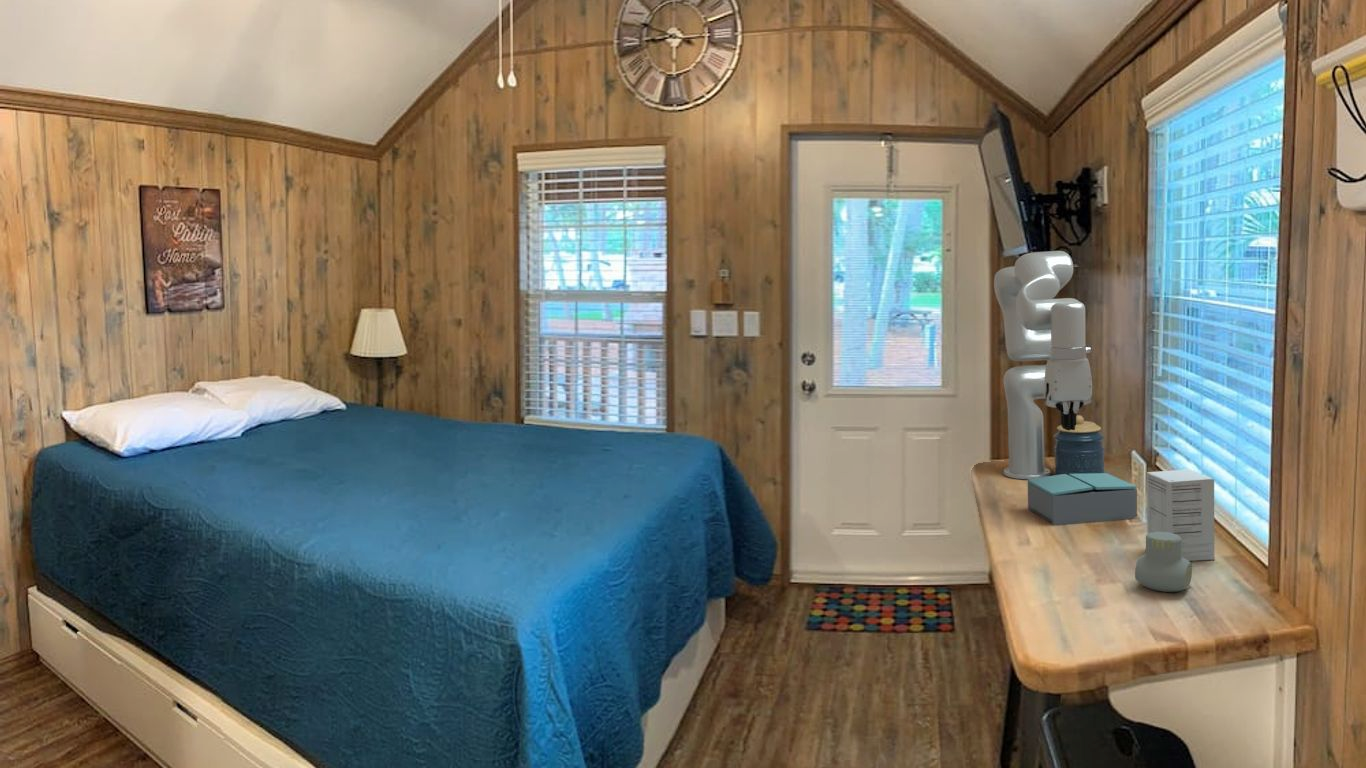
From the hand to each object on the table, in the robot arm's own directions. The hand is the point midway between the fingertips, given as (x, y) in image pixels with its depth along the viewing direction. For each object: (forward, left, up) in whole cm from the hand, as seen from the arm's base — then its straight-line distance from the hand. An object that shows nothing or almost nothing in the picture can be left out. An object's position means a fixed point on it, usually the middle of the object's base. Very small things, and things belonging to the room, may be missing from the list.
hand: (1068, 428), depth 211 cm
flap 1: (+1, -3, -14) cm, 14 cm away
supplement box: (+33, +7, -21) cm, 40 cm away
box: (+1, +2, -21) cm, 21 cm away
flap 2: (+1, +8, -14) cm, 16 cm away
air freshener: (+49, -6, -21) cm, 53 cm away
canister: (-32, +18, -21) cm, 43 cm away
